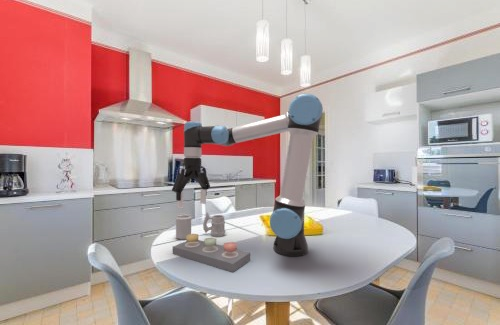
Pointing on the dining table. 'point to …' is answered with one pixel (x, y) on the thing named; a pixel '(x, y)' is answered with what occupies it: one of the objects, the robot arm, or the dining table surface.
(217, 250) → the console
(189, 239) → the button ochre
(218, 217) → the mug
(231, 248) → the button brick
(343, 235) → the dining table surface
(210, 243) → the button sage
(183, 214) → the can
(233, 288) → the dining table surface
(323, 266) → the dining table surface
